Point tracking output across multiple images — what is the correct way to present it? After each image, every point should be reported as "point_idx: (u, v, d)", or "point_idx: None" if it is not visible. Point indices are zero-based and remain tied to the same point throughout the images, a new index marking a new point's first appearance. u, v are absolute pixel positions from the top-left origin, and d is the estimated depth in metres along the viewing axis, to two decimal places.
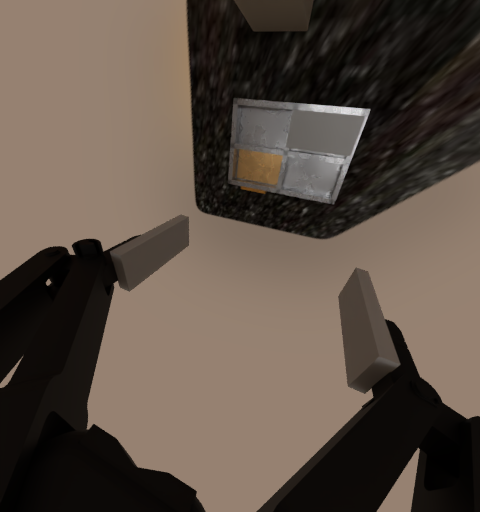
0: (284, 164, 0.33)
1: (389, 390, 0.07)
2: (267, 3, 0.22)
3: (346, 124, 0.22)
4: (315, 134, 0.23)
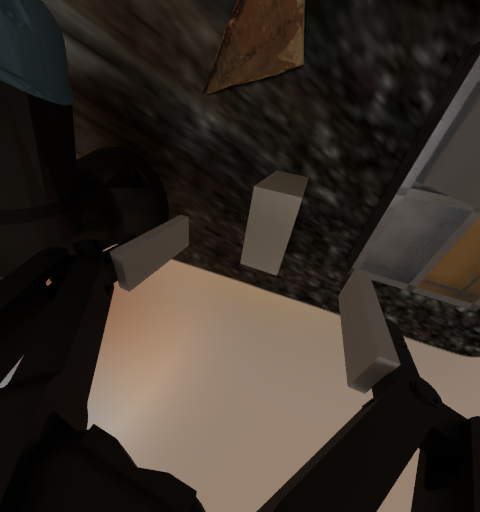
0: None
1: (389, 390, 0.07)
2: None
3: None
4: None
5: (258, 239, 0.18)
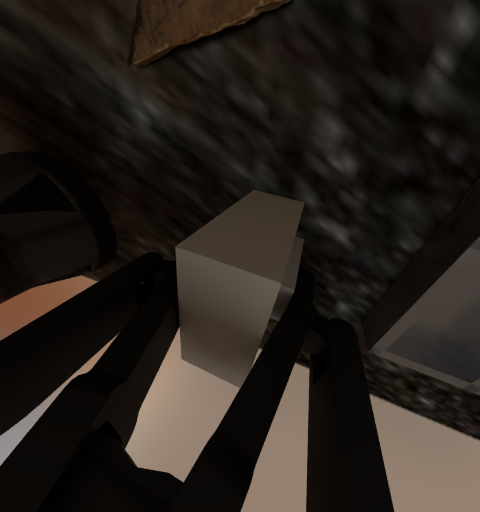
0: None
1: (284, 312, 0.09)
2: None
3: None
4: None
5: (202, 335, 0.09)
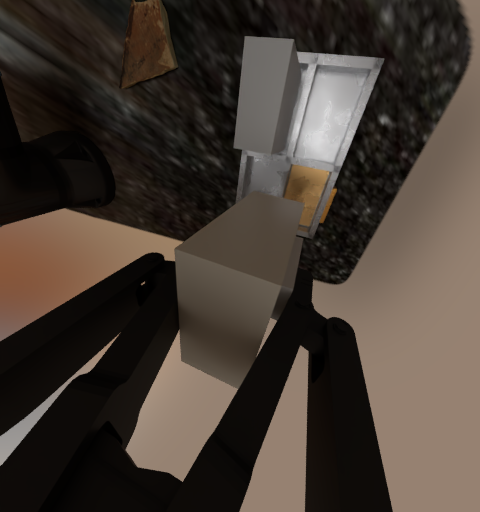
0: (301, 160, 0.25)
1: (282, 312, 0.09)
2: None
3: (251, 65, 0.16)
4: (259, 111, 0.18)
5: (202, 337, 0.09)
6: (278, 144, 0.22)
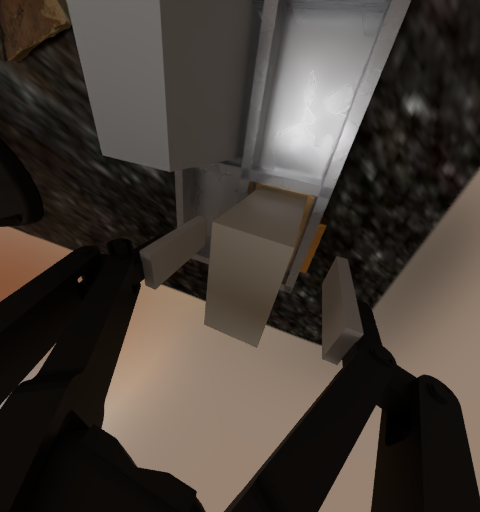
0: (266, 176, 0.15)
1: (353, 358, 0.07)
2: None
3: None
4: (123, 69, 0.07)
5: (226, 298, 0.11)
6: (208, 148, 0.11)
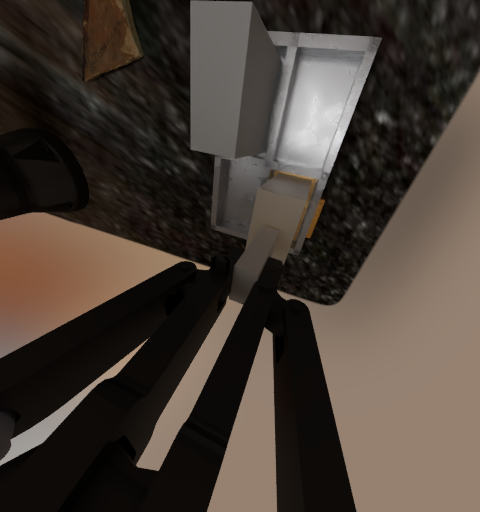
0: (283, 165, 0.21)
1: (247, 297, 0.09)
2: None
3: (202, 41, 0.12)
4: (217, 103, 0.14)
5: None
6: (250, 145, 0.18)
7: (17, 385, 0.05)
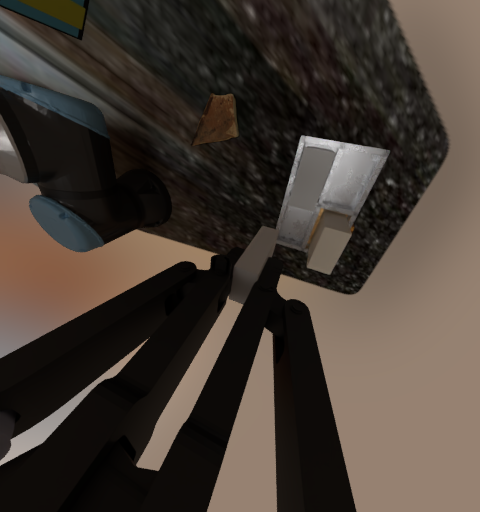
0: (329, 206, 0.35)
1: (247, 297, 0.09)
2: None
3: (307, 162, 0.26)
4: (309, 186, 0.28)
5: (321, 254, 0.32)
6: None
7: (17, 385, 0.05)
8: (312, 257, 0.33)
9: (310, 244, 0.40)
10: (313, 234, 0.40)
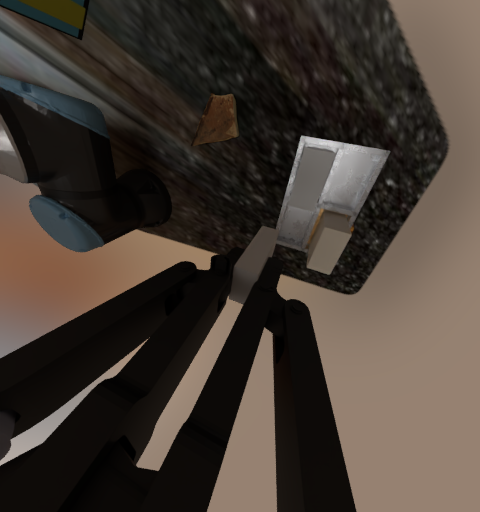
0: (329, 207, 0.35)
1: (247, 297, 0.09)
2: None
3: (307, 162, 0.26)
4: (309, 187, 0.28)
5: (321, 254, 0.32)
6: None
7: (17, 385, 0.05)
8: (312, 257, 0.33)
9: (310, 244, 0.40)
10: (313, 234, 0.40)
